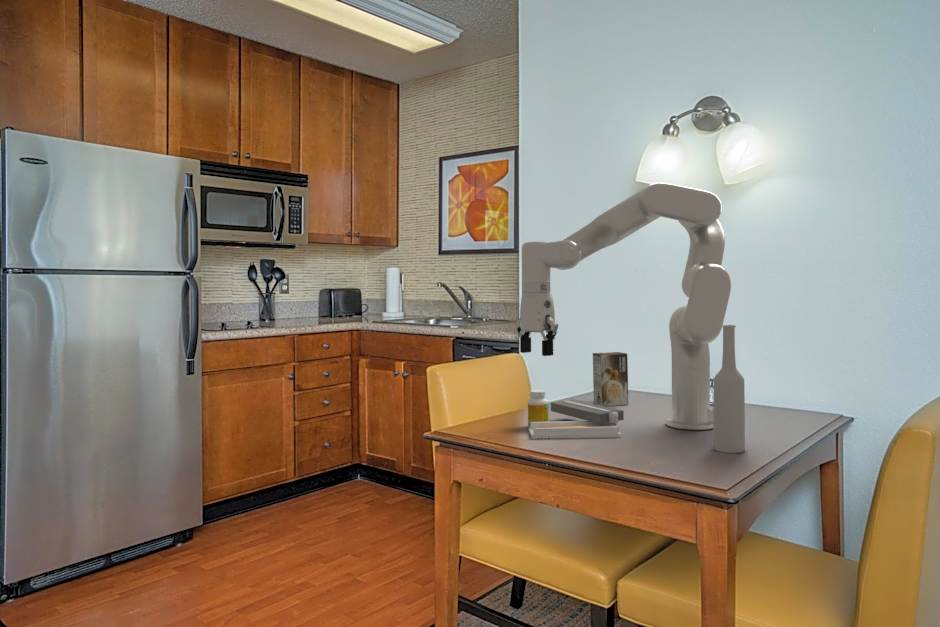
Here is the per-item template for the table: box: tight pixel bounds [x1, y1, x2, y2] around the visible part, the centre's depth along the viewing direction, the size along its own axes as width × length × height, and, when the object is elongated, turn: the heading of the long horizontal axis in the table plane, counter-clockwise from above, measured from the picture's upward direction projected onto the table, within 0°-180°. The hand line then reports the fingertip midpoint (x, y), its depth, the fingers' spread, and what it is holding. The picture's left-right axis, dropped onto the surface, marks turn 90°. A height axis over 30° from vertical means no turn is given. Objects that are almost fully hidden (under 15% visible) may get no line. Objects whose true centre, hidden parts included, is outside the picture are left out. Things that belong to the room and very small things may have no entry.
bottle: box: [712, 324, 746, 454], centre depth 146 cm, size 7×7×28 cm
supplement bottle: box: [527, 389, 549, 428], centre depth 173 cm, size 5×5×10 cm
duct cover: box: [550, 399, 625, 424], centre depth 173 cm, size 22×8×3 cm, turn 30°
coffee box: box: [592, 351, 629, 407], centre depth 203 cm, size 9×6×16 cm
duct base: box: [527, 420, 623, 440], centre depth 164 cm, size 22×9×2 cm, turn 90°
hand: (536, 353), depth 172 cm, fingers open, 9 cm apart
